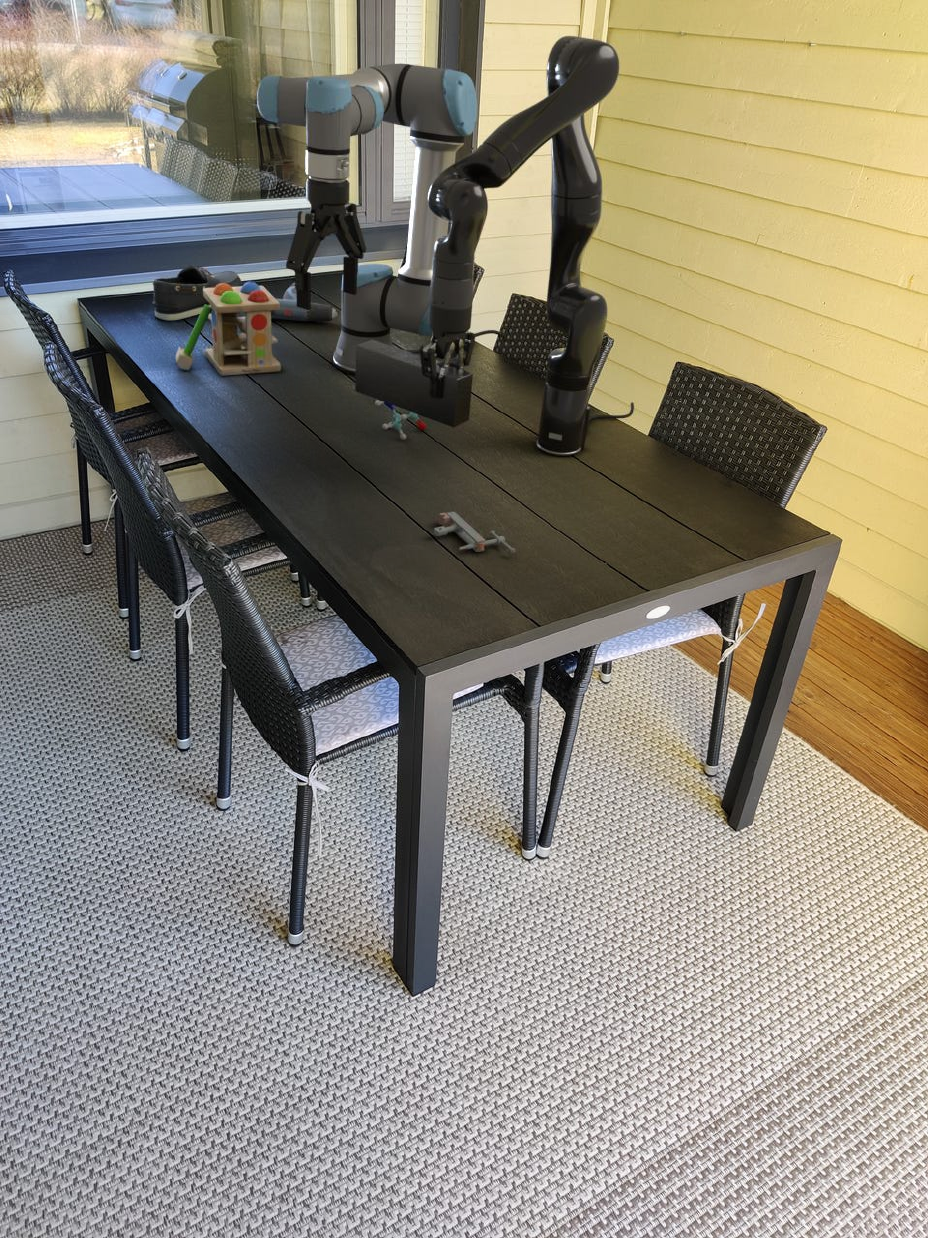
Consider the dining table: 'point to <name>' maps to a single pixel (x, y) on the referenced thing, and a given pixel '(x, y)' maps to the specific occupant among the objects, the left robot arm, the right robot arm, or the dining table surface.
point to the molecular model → (400, 420)
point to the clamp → (466, 533)
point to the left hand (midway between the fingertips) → (327, 300)
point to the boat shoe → (187, 291)
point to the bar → (411, 383)
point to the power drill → (301, 309)
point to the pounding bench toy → (229, 347)
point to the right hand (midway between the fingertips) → (444, 393)
